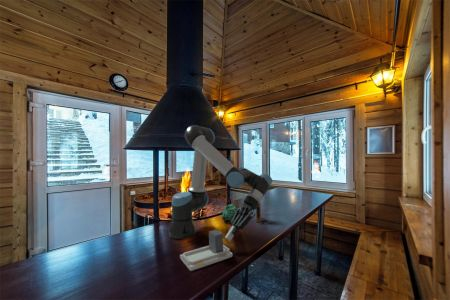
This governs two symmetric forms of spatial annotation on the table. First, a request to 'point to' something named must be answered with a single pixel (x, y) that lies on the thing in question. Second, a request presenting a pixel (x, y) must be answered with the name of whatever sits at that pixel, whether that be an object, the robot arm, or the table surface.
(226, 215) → the mineral
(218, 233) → the switch tab
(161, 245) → the table surface
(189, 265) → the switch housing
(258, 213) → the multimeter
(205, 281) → the table surface
